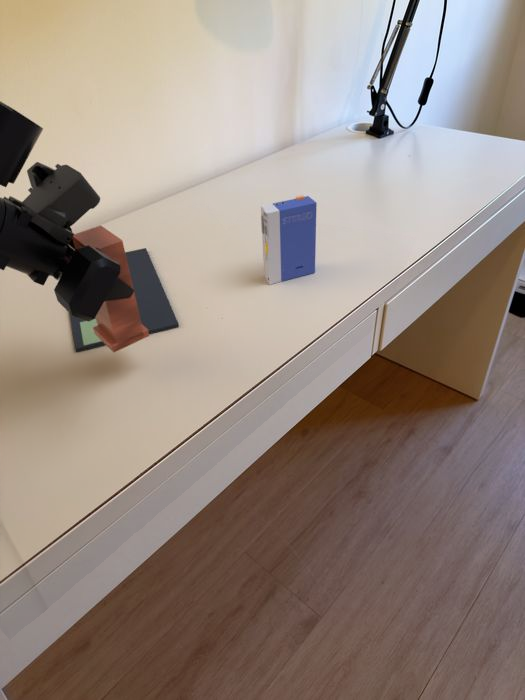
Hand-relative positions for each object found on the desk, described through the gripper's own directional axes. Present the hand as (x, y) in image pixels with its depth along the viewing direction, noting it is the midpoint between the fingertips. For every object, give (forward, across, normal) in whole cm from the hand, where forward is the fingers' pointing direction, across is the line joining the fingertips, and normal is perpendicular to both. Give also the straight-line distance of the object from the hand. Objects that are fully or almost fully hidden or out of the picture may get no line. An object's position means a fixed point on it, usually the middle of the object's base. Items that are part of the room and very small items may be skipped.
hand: (120, 284), depth 61 cm
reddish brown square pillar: (+4, 0, +6) cm, 7 cm away
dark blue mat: (+12, +16, +4) cm, 21 cm away
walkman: (+28, +2, -12) cm, 30 cm away
